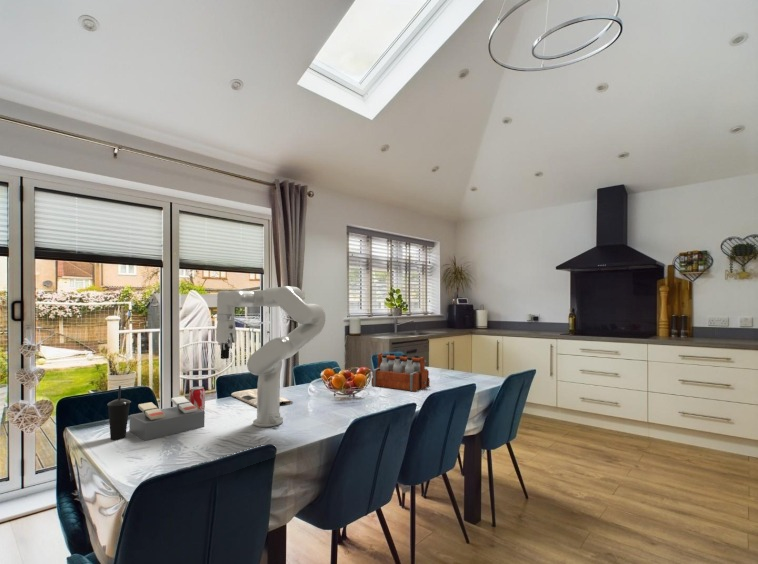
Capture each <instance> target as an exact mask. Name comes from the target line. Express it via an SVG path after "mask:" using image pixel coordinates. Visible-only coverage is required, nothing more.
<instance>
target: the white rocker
mask: <svg viewBox="0 0 758 564" xmlns="http://www.w3.org/2000/svg"><path fill="white" fill-rule="evenodd" d="M171 402H172V403H173V404H174V405H175V406H177V407H178V408H179V409H181V410H182V411H183V412H184V413H190V412H195V411H197V408H196V407H195V406H194V405H193V404H192V403H191V402H189V399H187V398H186V397H185V396H184V395H182V396H175V397H171Z"/></svg>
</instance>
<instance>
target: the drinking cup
mask: <svg viewBox="0 0 758 564" xmlns="http://www.w3.org/2000/svg"><path fill="white" fill-rule="evenodd" d="M121 387H122V386H121V385H119V386H118V393H117V395H118V398H117V399H116V398H115V399H114V400H112V401H109V402H108V403H107V405H106V406H107V408H108V421H109V423H108V424H109V436H110V440H111V441H118V440H119V441H120V440H122V439H125V438H126V437H127V436H126V435H127V428H128V427H127V426H128V419H129V412H130V404H131V403H132V401H131V400H129V399H126V398H121V396H122V395H121V391H122V389H121Z"/></svg>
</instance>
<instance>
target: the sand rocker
mask: <svg viewBox="0 0 758 564" xmlns="http://www.w3.org/2000/svg"><path fill="white" fill-rule="evenodd" d="M137 407H138V409H139V410H140V411H142V412H141V413H144V414H145V415H146V416H147V417H148V418H149V419H150V420H153V419H158V418H162V417H164V416H165V414H164V413H163V412H162V411H161V410H160V409H161V408H159V407H158V406H157V405H155V404H154V403H153V402H152V401H151V402H144V403H139V404H138V405H137Z"/></svg>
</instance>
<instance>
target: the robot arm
mask: <svg viewBox="0 0 758 564" xmlns="http://www.w3.org/2000/svg"><path fill="white" fill-rule="evenodd" d="M216 297H217V300H216V322H217V324H216V333H215V340H216V342H217V345H218V346H219V349H220V359H221V360H225V359H230V349H231V347H232V346H233V344H235V343H236V341H237V333H236V332H237V331H236V330H237V329H236V322H235V308H252V307H267V308H272V307H273V308H274V307H275V308H276V307H280V308H281V309H282V310H283V311H284V312H285V314H287V315H288V316H289V317H291V318H292V319H293V321H295V322H297V323H298V324H300V325H298V326H297V327H296V328H294V329H293V330H291V331H290V332H289V333H287V334H286V335H283V336H280V337H274V338H272V339H270V340H269V341H268V342H266V343H265V344H264V345H262V346H261V347H260V348H259V349H257V350H256V351H255V352H253V353H252V354H251V355H250V356H249V357H248V360H247V363H246V367H247V370H248V372H249V373H250V374H251V375H254V376H257V377H258V378H257V388H256V389H257V407H256V418H255V419H253V420H252V424H253V425H254V426H255V427H260V428H266V427H267V428H268V427H275V426H279V425H282V423H284V417H281V412H280V411H281V409H280V404H281V402H280V397H281V396H280V395H281V393H280V391H281V373H282V372H281V371H282V368H283V361H284V360H286V359H289V358H292V357H293V356H294V355H296V354H297V353H298V352H299V351H300V350H302V349H303V348H304V347H305V346H306V345H308V344H309V343H310V342H311V341H313V340H314V339H315V338H316V337H318V336H319V334H320V333H321V332H322V330H324V327H325V324H326V312H325V310H324V308H323V307H322V306H321V305H320V304H317V303H306V302H305V301H303V299H304V293H303V291H302V290H301V289H300V288H299V287H297V286H290V285H285V286H284V285H282V286H279V287H266V288H265V289H263V290H262V289H261V290H242V289H241V290H240V289H239V290H238V289H237V290H220V291H218V292H217V296H216Z"/></svg>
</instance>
